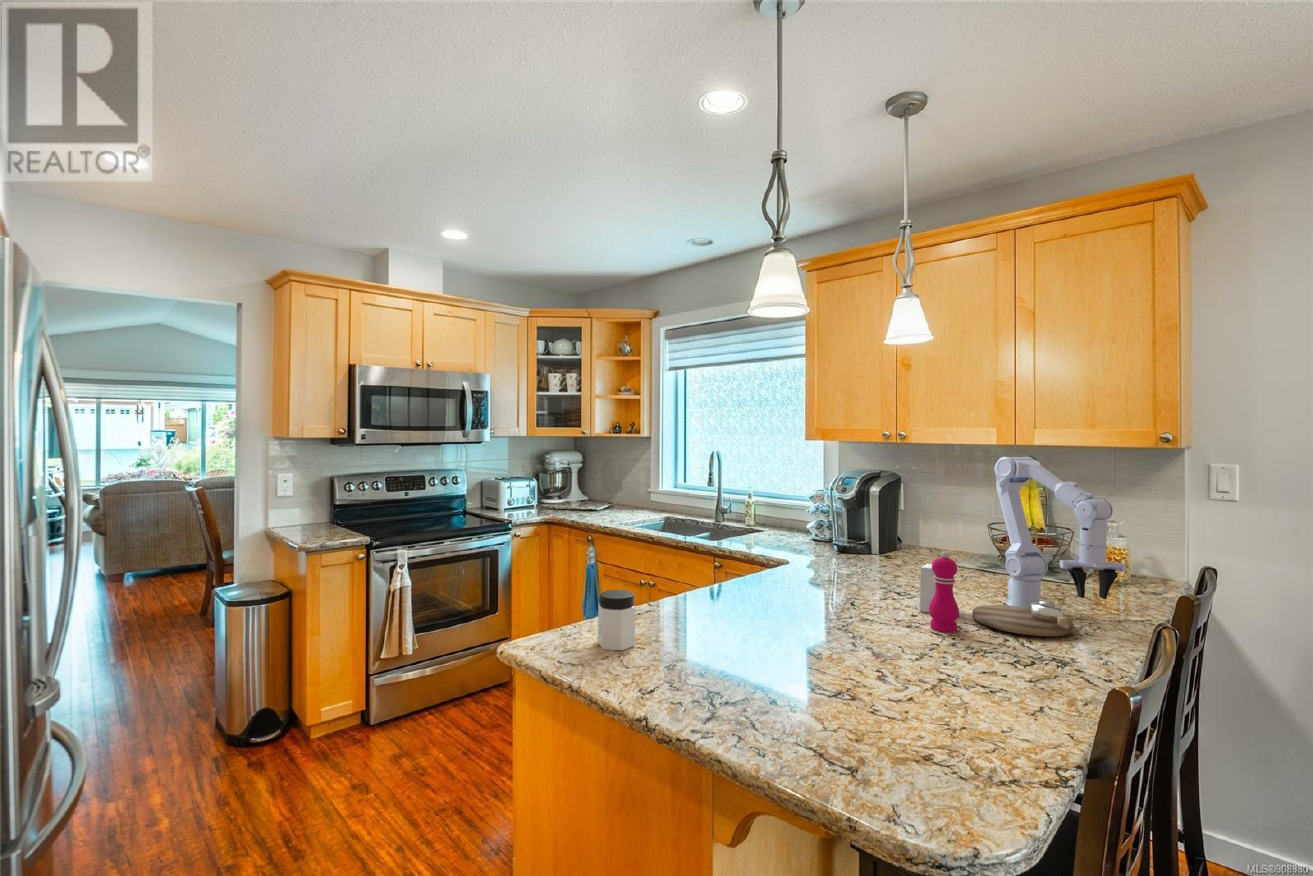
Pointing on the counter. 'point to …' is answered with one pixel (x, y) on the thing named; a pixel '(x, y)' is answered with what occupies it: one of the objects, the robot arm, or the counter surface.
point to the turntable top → (1020, 621)
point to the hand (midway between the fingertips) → (1092, 597)
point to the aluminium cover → (1046, 611)
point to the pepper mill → (944, 595)
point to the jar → (616, 620)
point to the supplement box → (926, 587)
